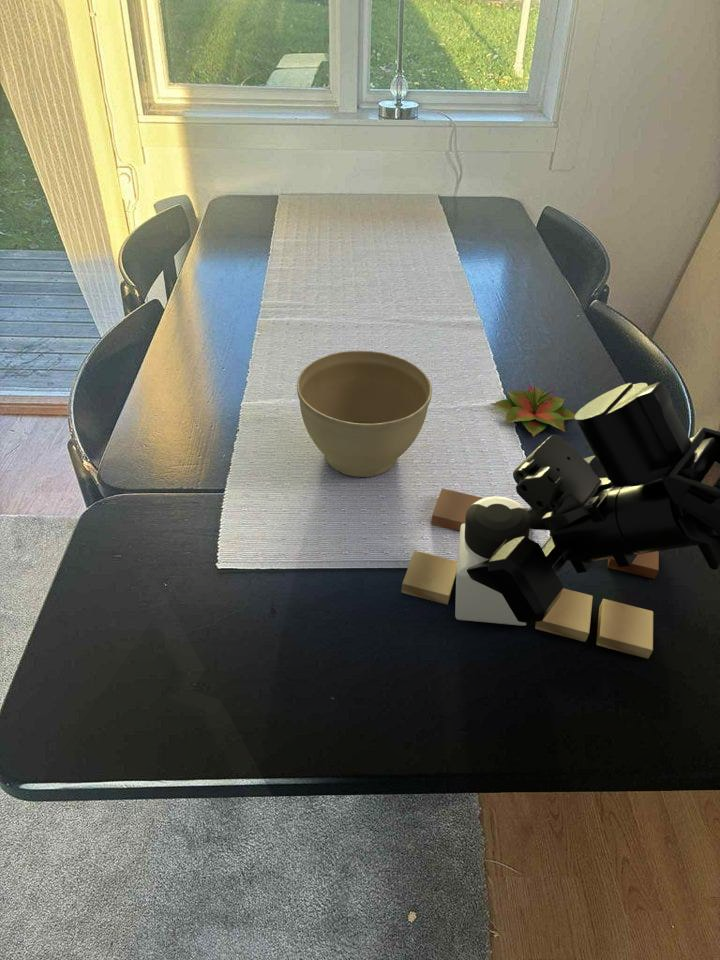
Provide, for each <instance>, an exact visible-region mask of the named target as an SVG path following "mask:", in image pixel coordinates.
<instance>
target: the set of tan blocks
mask: <svg viewBox="0 0 720 960" xmlns="http://www.w3.org/2000/svg"><path fill="white" fill-rule="evenodd" d="M456 572H457V560H455V559H454V560H453V559H450V558H446V557H442V556H439V555H435V554H430V553H426V552H422V551H418V550H414V551H413V554H412V555H411V558H410V562H409V563H408V567H407V569H406V572H405V575H404V577H403V580H402V583H401V590H400V591H401V592H400V593H402V594H405V595H409V596H412V597H416V598H419V599H424V600H427V601H432V602H434V603H439V604H442V605H446V606H448V605H449V602H450V599H451V596H452V592H453V589H454V586H455V583H456ZM593 599H594V596H593V595H591V594H588V593H583V592H579V591H576V590H571V589H568V588H565V587H564V588H563V590H562V593H561V596H560V598H559V599H558V600H557V602H556V603H555V604H554V606H553V607H552V608H551V610H550V611H549V612H548V614H547V615H546V616H545V618H544V619H543V620H542V621H539V622H535V627H534V629H535V630H537V631H538V630H539V631H541V632H546V633H549V634H553V635H557V636H561V637H563V638H567V639H572V640H576V641H579V642H583V643H586V642H587V640H588V637H589V635H590V629H591V618H592V609H593ZM595 641H596V643H595V645H596V646H598V647H602V648H606V649H609V650H613V651H618V652H621V653H624V654H628V655H630V656H631V655H632V656H635V657H639V658H643V659H647V660H649V658H650V657H651V655H652V654H653V651H654V611H653V610H649V609H645V608H641V607H637V606H633V605H629V604H626V603H621V602H619V601H615V600H611V599H606V598H603V599H601V602H600V604H599V608H598V618H597V631H596V640H595Z"/></svg>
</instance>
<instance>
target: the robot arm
mask: <svg viewBox="0 0 720 960" xmlns="http://www.w3.org/2000/svg"><path fill="white" fill-rule="evenodd" d="M575 414H576V415H575V418H574V420H575V422H576V423H577V426H578V427H579V429H580V431H581V433H582V435H583V436H584V438H585V441H586V442H587V443H588V445H589V447H590V449H591V451H592V453H593V455H591V456H587V457H583V456H582V455H581V454H580V453H579V452H578V451H576V450H575V448H574V447H573V446H571V444H570V443H568V441H566V440H565V439H564V438H563V437H562V436H560V435H558V434H551V435H550V436H548V437H547V438H546V439H545V440H544V441H542V443H541V444H540V445H539V446H537V447H536V448H535V449H534V450H533V451H532V452H530V454H529V455H528V456H527V457H526V458H525V459H524V460H523V461H522V462H520V464H519V465H518V466H517V467H516V468H515V469H514V470H513V471H512V477H513V480H514V482H515V484H516V486H515V492H516V494H517V495H518V496H519V497H520V498H521V499H522V500H523V501H524V502H525V503H526V504H527V505H528V506H529V509H527V512H528V513H529V515H530V519H531V523H530V529H531V530H537V531H550V536H549V537H548V538H547V540H546V541H545V542H544V543H543V545H542V546H541V545H540V543H539V542H537V541H535V540H533V539H532V540H531V539H529V538H527V537H525V536H523V537H519V538H515V539H513V540H511V541H509V542H508V540H507V539H506V540H505V541H504V542H503V544H502V545H501V546H500V547H499V548H498V549H497V550H496V551H495V552H494V554H493V555H492V556H491V559H489V560H487V561H484V562H481V563H478V564H476V565H474V566H471V567H469V568H468V569H467V573H468V575H469V576H470V578H471V579H472V580H474V581H476V582H478V583H480V584H483V585H485V586H487V587H489V588H491V589H493V590H495V591H497V592H499V593H501V594H502V595H503V597H504V598H505V600H506V602H507V604H508V605H509V607H510V609H511V610H512V612H513V614H514V615H515V617H516V619H517V620H518V621H519V622H524V623H526V622H527V623H536V622H539V621H542V620H543V619H544V618H545V616H546V615H547V614H548V612H549V611H550V610H551V608H552V607H553V606H554V604H555V603H556V602H557V600H558V599H559V598H560V596H561V593H562V590H563V588H564V589H565V587H564V585H563V583H562V581H561V580H560V577H559V576H558V574H559V572H561V569H562V568H563V567H564V566H565V564H566V563H567V562H570V563H571V565H572V566H573V568H574V570H575V572H576V573H577V574H582V573H588V572H589V570H590V569H591V568H592V566H593V565H594V563H595V562H596V561H604V560H608V559H611V558H614V559H615V561H616V563H617V564H618V566H619V567H626V566H630V565H631V564H632V562H633V561H634V559H635V558H636V556H637V555H638V554H644V553H650V552H656V551H659V552H663V551H668V550H674V549H681V548H687V547H694V546H696V547H697V548H698V549H699V551H700V553H701V554H702V557H703V559H704V560H705V562H706V564H707V566H708V567H709V569H711V570H713V571H716V570H719V569H720V475H719V476H718V477H717V479H716V480H715V482H713V483H714V484H712V485H710V484H706V483H703V480H704V479H705V478H706V476H707V474H708V472H709V471H710V470H711V468H712V467H713V465H714V464H715V463H718V464H719V465H720V431H718V430H715V429H711V428H708V427H705V426H703V427H700V428H698V429H697V431H696V432H695V434H694V435H693V436H692V437H689V434H688V433H687V431H686V428H685V427H684V425H683V423H682V421H681V420H680V419H681V418H679V415H678V413H677V412H676V409H675V407H674V404H673V401H672V397H671V394H670V392H669V390H668V389H667V387H666V384H665V383H664V382H662V381H659V382H655V383H652V384H649V385H648V383H647V382H637V383H632V382H628V383H625V384H621V385H620V386H617V387H615V388H613V389H611V390H609V391H606V392H604V393H602V394H601V395H598V396H597V397H596V398H594V399H592V400H591V401H589V402H587V403H586V404H585V405H583V407H581V408H580V409H579V410H577V412H576V413H575Z"/></svg>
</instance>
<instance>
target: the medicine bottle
mask: <svg viewBox="0 0 720 960" xmlns="http://www.w3.org/2000/svg"><path fill="white" fill-rule="evenodd" d="M482 498H483V499H481V500H478V501H477V502H475V503H474V504H472V505H471V506H470V507H469V508H468V510H467V512H466V516H465V524H462V525H461V527H460V531H459V540H458V549H457V560H456V561H457V572H456V579H455V607H454V610H455V613H454V617H455V619H456V620H457V621H466V622H477V623H478V622H479V623H487V624H500V625H511V626H520V627H521V626H524V627H525V626H527V624H528V622H526V623H524V622H519V621H518V620H517V619H516V617H515V615H514V614H513V612H512V610H511V609H510V607H509V605H508V604H507V602H506V600H505V598H504V597H503V595H502V594H501V593H499V592H497V591H495V590H493V589H491V588H489V587H487V586H485V585H483V584H480V583H478V582H476V581H474V580H472V579H471V578H470V576H469V575H468V573H467V569H468V568H469V567H471V566H474V565H476V564H478V563H481V562H484V561H487V560H489V559H491V556H492V555H493V554H494V552H495V551H496V550H497V549H498V548H499V547H500V546H501V545H502V544H503V542H504V541H505V540H506V539H507V540H508V542H509V541H511V540H513V539H515V538H519V537H523V536H525V537H527V538H529V539H531V540H533V531H532V530H533V529H530V523H531V519H530V515H529V513H528V512H527V510H526V509H525V508H526V507H524V506H523V505H522V504H521V503H519V502H518V501H517V500H514V499H511V498H509V497H505V496H487V497H482Z"/></svg>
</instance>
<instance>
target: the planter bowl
mask: <svg viewBox="0 0 720 960" xmlns="http://www.w3.org/2000/svg"><path fill="white" fill-rule="evenodd" d="M296 392H297V397H298V400H299V407H300V413H301V417H302V421H303V424H304V427H305V429H306V431H307V434H308V435H309V437H310V439H311V441H312V442H313V443H314V445H315V446H316V447H317V449H318V450H319V451H320V452H321V453H322V454H323V455H324V459H325V460H326V462H327V464H328V465H329V466H330V467H331V468H332V469H334V470H335V471H337V472H339V473H341V474H344V475H348V476H350V477H351V476H352V477H357V478H367V477H370V478H371V477H376V476H379V475H381V474H384V473H386V472H387V471H389V470H391V469H392V468H393V467H394V466H395V465H396V463H397V461H398V459H399V458H400V457H402V455H404V453H406V452H407V451H408V449H409V448H410V447H411V446H412V445H413V443H414V442H415V441H416V439H417V437H418V436H419V434H420V432H421V430H422V428H423V425H424V423H425V420H426V417H427V414H428V408H429V406H430V403H431V400H432V396H433V386H432V383H431V380H430V379H429V376H427V374H426V373H425V372H424V371H423V370H422V369H421V368H419V366H417V365H415V364H414V363H412V362H411V361H409V360H407V359H405V358H402V357H400V356H397V355H394V354H390V353H387V352H381V351H373V350H346V351H338V352H333V353H329V354H327V355H324V356H322V357H319V358H317V359H315V360H314V361H312V362H311V363H309V364H308V365H307V366H305V367H304V368H303V370H301V372H300V374H299V376H298V378H297V382H296Z"/></svg>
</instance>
